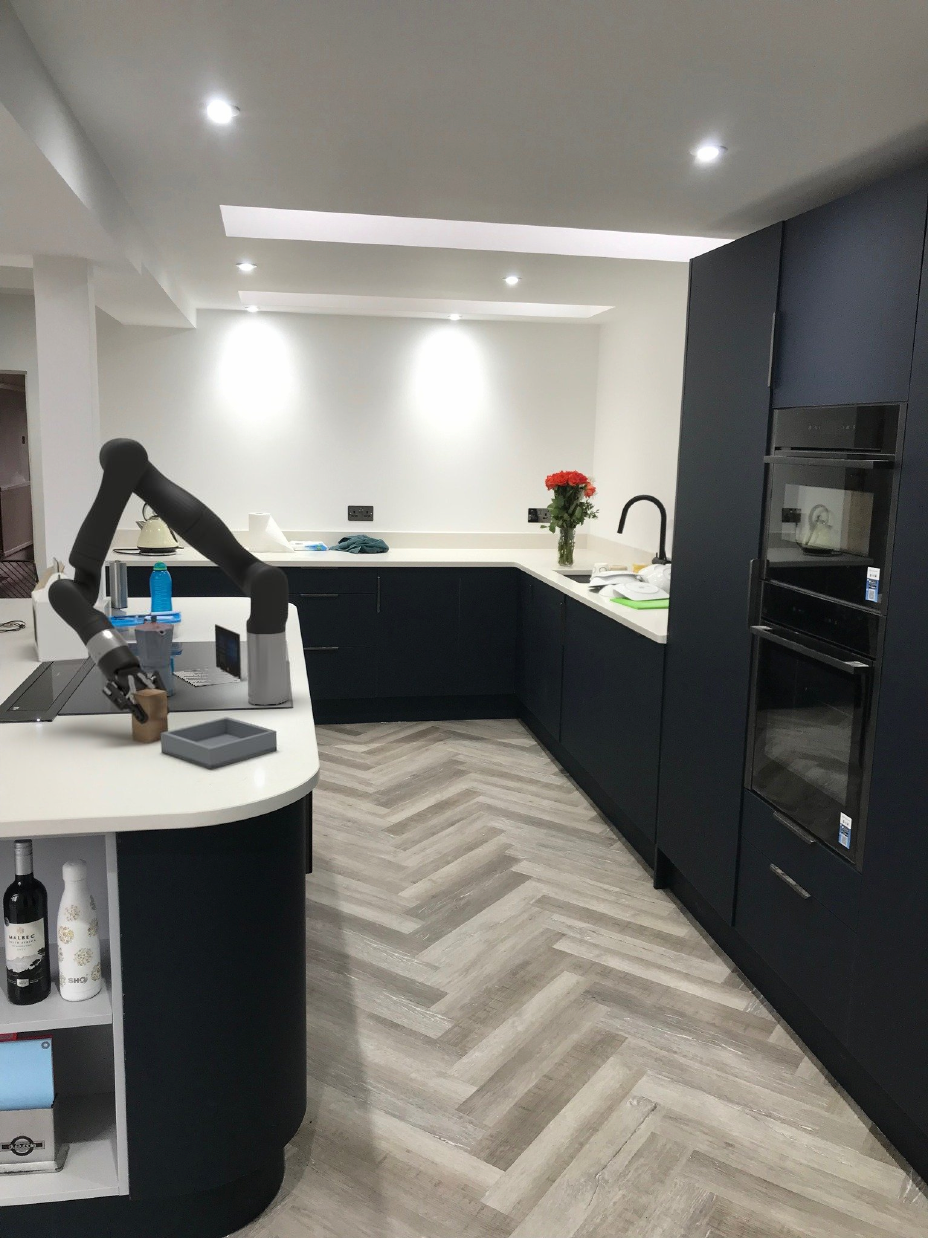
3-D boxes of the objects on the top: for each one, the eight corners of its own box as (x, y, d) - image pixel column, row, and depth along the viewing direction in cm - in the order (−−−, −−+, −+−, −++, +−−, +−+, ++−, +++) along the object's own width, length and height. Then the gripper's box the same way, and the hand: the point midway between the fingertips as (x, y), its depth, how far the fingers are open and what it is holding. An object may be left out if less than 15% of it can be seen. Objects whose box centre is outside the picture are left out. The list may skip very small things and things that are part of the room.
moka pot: (148, 703, 226) (144, 621, 222) (124, 691, 237) (120, 612, 234) (186, 697, 232) (183, 617, 228) (161, 685, 243) (158, 608, 240)
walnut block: (151, 733, 201) (149, 688, 200) (168, 737, 199) (166, 691, 197) (132, 739, 197) (130, 693, 195) (149, 743, 195) (147, 696, 193)
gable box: (88, 658, 275) (83, 562, 270) (39, 662, 269) (33, 564, 264) (81, 645, 294) (76, 555, 290) (34, 648, 288) (29, 556, 284)
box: (227, 735, 201) (226, 716, 200) (276, 750, 191) (276, 731, 190) (161, 752, 189) (160, 733, 188) (210, 769, 179) (209, 749, 178)
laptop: (172, 675, 257) (171, 627, 255) (217, 669, 264) (216, 623, 262) (195, 688, 242) (193, 638, 240) (242, 682, 249) (240, 634, 247)
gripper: (92, 650, 192) (137, 715, 188) (147, 638, 204) (190, 700, 201) (76, 672, 195) (120, 737, 192) (131, 660, 208) (173, 720, 204)
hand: (155, 718), depth 196 cm, fingers closed on walnut block, 5 cm apart
